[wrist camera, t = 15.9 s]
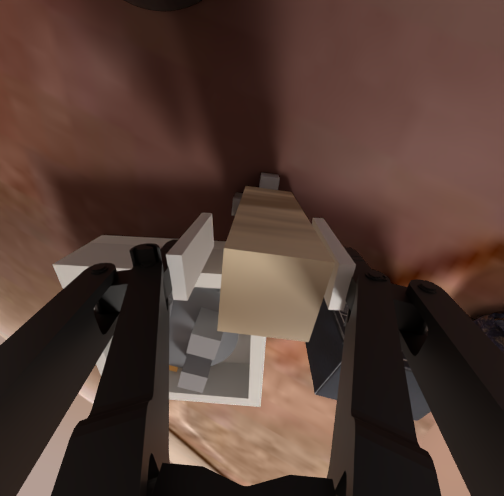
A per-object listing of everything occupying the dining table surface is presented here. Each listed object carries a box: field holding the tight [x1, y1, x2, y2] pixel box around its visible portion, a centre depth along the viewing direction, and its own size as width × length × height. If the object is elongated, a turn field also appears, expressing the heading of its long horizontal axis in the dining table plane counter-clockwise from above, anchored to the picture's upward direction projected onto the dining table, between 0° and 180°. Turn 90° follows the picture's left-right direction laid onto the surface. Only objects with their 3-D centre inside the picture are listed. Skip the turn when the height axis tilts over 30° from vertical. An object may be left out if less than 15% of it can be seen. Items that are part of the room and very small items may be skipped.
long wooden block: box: [217, 172, 335, 342], centre depth 15 cm, size 6×6×15 cm
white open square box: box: [52, 235, 266, 407], centre depth 26 cm, size 19×19×7 cm
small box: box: [306, 298, 431, 421], centre depth 23 cm, size 11×6×10 cm, turn 72°
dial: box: [169, 287, 239, 393], centre depth 25 cm, size 13×14×6 cm
